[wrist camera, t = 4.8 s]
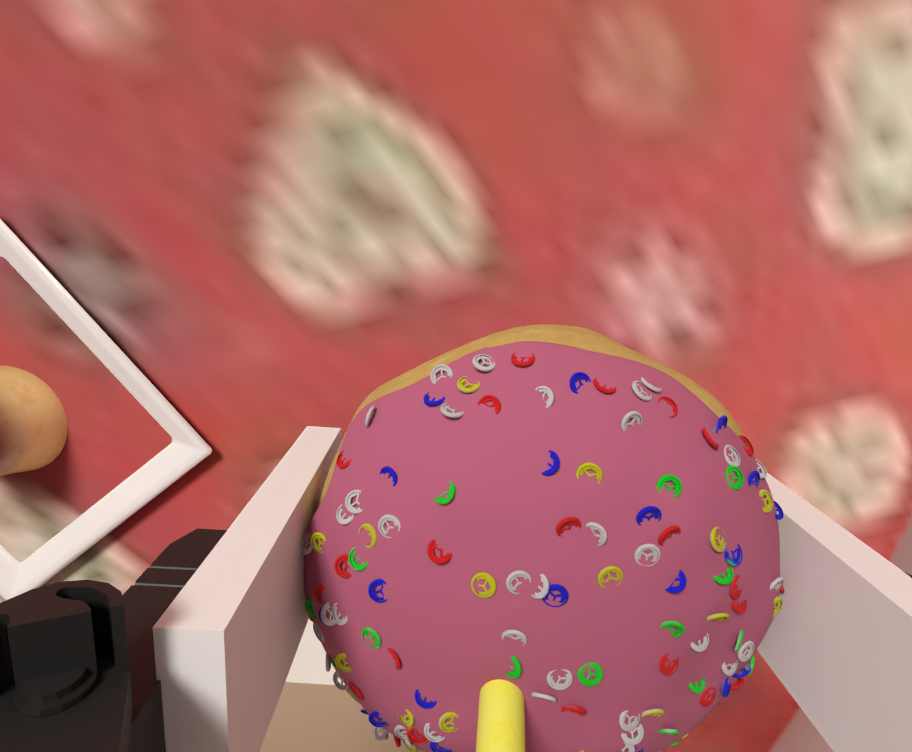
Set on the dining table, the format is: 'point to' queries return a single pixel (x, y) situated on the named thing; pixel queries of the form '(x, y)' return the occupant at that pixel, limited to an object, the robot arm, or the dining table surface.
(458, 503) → the cupcake
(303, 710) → the plinth
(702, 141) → the dining table surface
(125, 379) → the white square frame
